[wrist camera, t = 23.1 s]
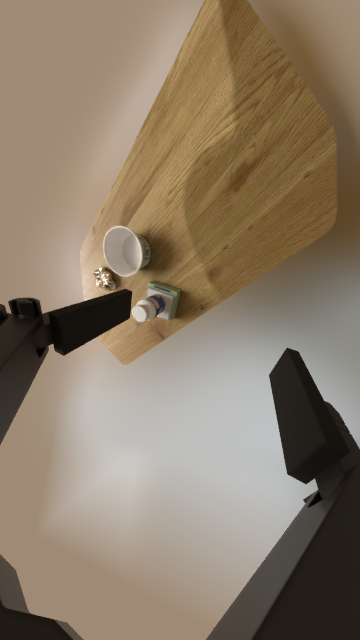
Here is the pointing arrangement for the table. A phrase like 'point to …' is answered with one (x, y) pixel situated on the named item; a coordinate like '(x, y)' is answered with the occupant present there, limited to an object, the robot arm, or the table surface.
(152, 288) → the scale
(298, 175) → the table surface
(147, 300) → the pill bottle
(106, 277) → the ornament
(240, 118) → the table surface
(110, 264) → the food container
